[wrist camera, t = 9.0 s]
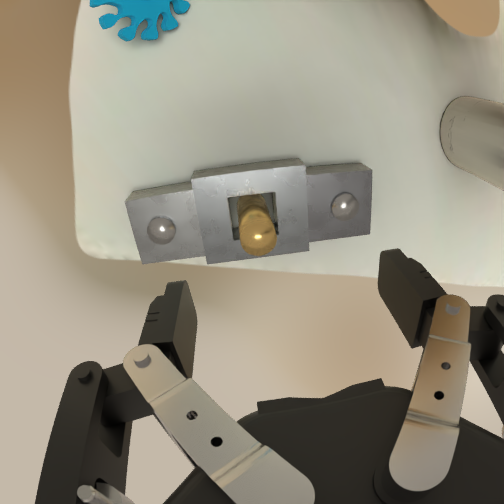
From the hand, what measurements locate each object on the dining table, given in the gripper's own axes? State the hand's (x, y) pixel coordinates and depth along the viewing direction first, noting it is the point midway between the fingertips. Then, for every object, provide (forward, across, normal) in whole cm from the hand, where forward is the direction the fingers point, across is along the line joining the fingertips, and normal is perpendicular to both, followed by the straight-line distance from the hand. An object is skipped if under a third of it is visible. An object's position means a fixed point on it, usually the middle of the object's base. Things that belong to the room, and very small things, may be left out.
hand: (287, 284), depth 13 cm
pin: (+21, +1, +4) cm, 22 cm away
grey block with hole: (+21, +1, +4) cm, 21 cm away
